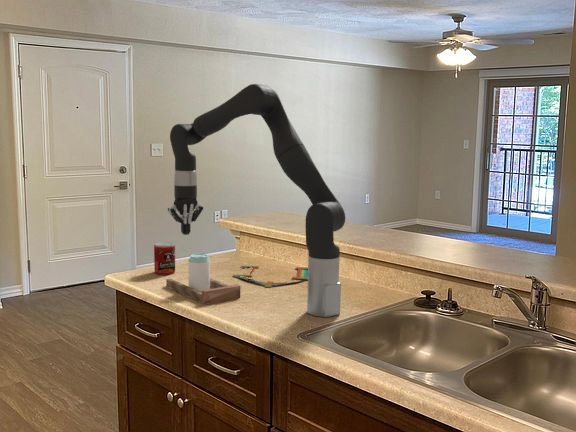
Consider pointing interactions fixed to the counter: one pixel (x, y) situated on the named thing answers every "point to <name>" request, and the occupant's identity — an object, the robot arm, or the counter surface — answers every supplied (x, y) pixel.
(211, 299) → the channel
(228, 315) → the counter surface
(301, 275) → the ribbon cable
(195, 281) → the can
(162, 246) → the canned food
